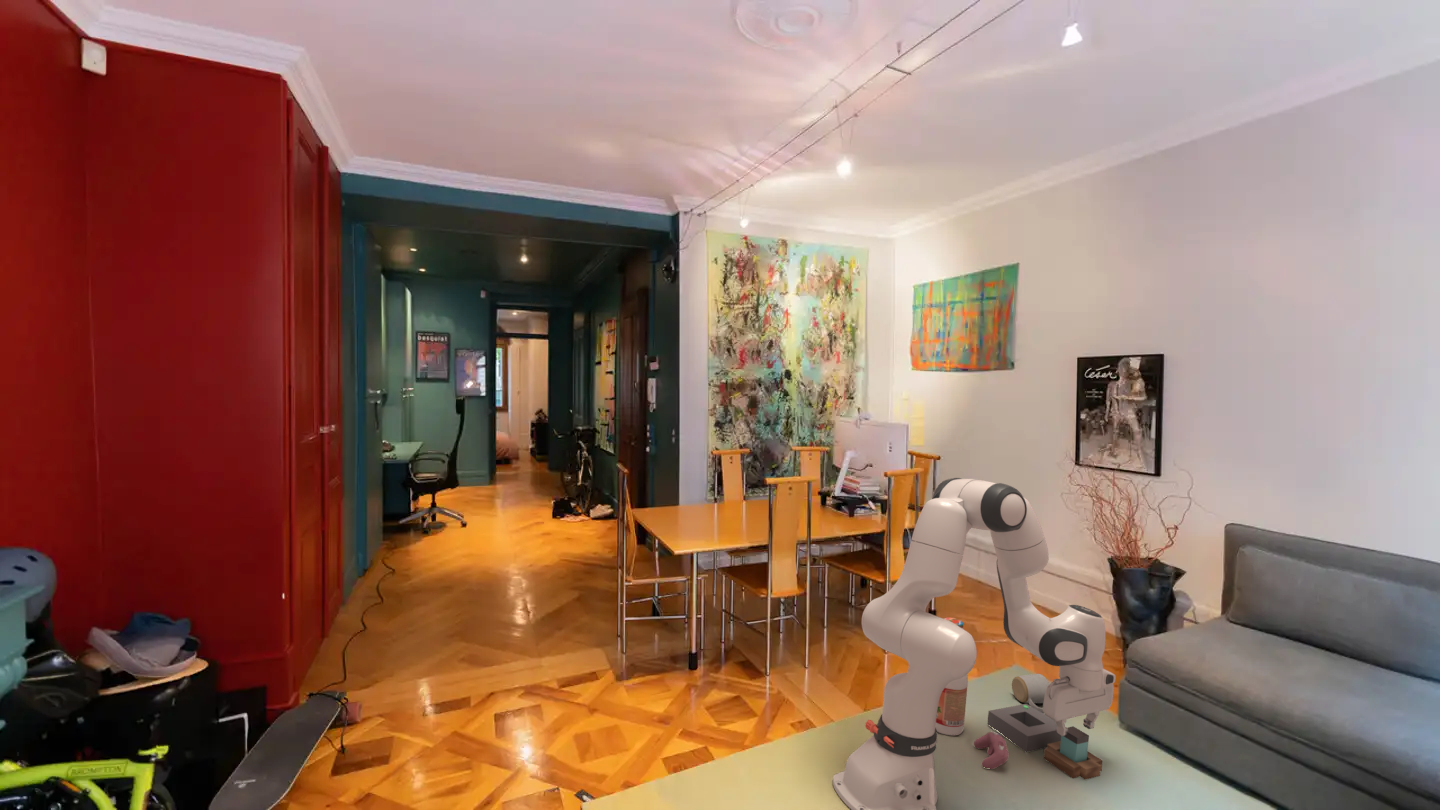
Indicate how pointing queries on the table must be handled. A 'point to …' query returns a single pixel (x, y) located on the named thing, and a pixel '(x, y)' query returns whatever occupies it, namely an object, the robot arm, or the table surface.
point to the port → (1024, 726)
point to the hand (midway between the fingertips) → (1075, 730)
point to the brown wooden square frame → (1073, 763)
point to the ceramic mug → (1030, 689)
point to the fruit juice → (952, 702)
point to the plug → (1075, 745)
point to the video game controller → (993, 749)
